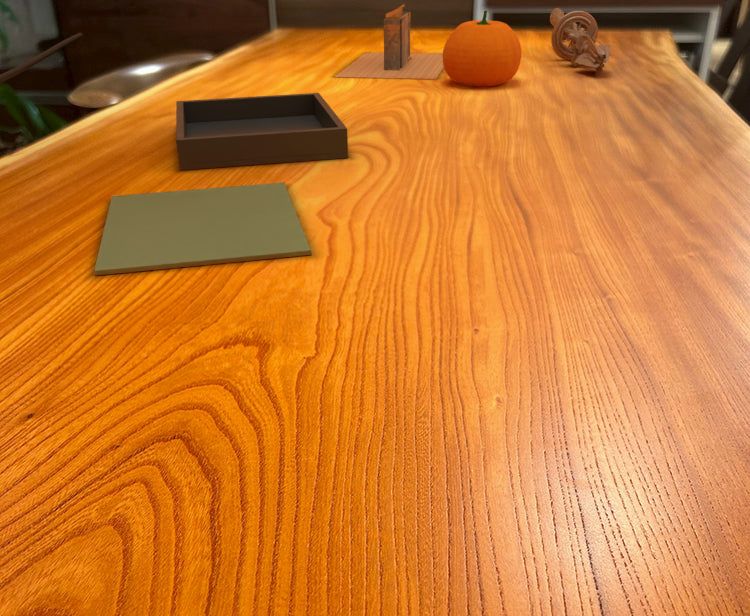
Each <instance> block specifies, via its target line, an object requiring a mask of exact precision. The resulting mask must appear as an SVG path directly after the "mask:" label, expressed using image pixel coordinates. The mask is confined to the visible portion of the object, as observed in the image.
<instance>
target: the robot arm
mask: <svg viewBox="0 0 750 616" xmlns="http://www.w3.org/2000/svg"><path fill="white" fill-rule="evenodd" d="M83 37H84V34H83V33H82V32H78V33H76V34H74V35H71V36H70V37H67V38H66V39H63V40H62V41H60V42H58V43H56V44H55V45H53V46H51V47H50V48H48V49H46V50H45V51H43V52H41V53H40V54H38V55H36V56H34V57H33V58H31V59H29V60H28V61H25V62H24V63H22V64H20V65H17V66H16V67H14V68H12V69H9V70H8V71H5V72H3V73H0V84H1V83H3V82H5V81H8V80H9V79H11V78H13V77H16V76H17V75H19V74H22V73H23V72H25V71H27V70H29V69H30V68H32V67H34V66H35V65H36V66H37V64H39V63H41V62H42V61H44V60H45V59H47V58H48V57H51V56H52V55H54V54H55V53H57V52H59V51H60V50H62V49H63V48H65V47H67V46H68V45H70V44H72V43H74V42H76V41H79V40H80V39H82V38H83Z"/></svg>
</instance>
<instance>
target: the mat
mask: <svg viewBox="0 0 750 616" xmlns="http://www.w3.org/2000/svg"><path fill="white" fill-rule="evenodd" d="M108 206H109V207H108V211H107V215H106V220H105V224H104V226H103V227H104V228H103V232H102V235H101V241H100V245H99V249H98V253H97V257H96V262H95V266H94V270H93V272H94V276H106V275H115V274H125V273H127V274H128V273H136V272H137V273H138V272H146V271H157V270H167V269H178V268H189V267H200V266H209V265H220V264H229V263H230V264H231V263H240V262H249V261H250V262H251V261H252V262H253V261H260V260H270V259H271V260H273V259H281V258H290V257H292V258H293V257H303V256H311V255H312V253H313V252H312V249H311V246H310V243H309V241H308V238H307V236H306V233H305V231H304V229H303V226H302V224H301V220H300V219H299V215H298V213H297V211H296V208H295V206H294V203H293V201H292V198H291V195H290V194H289V191H288V188H287V186H286V184H285V182H272V183H258V184H245V185H233V186H221V187H219V186H218V187H209V188H208V187H207V188H197V189H195V188H194V189H181V190H170V191H169V190H168V191H158V192H146V193H145V192H144V193H133V194H120V195H111V198H110V202H109V205H108Z"/></svg>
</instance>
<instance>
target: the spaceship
mask: <svg viewBox="0 0 750 616" xmlns="http://www.w3.org/2000/svg"><path fill="white" fill-rule="evenodd" d="M549 22H550V24H551V25H552V27H553V29H552V31H551V32H552V33H551V37H550V39H551V47H552V49H553V51H554V53H555V54H556V55H557V56H558V57H559V58H561V59H563V60H567V61H570V64H571V65H572V66H573V67H574V68H577V66H578V64H579V65H582V66H586V67H591V68H592V69H593V70H594V71H595V73H596V72H597V73H598V72H599V73H601V72H602V71H604V67H605V64H606V63H607V62H608V61H609V60H610V56H611V44H603V43H601V42H600V41H599V40H598V36H599V27H598V23H597V20H596V19H595V18H594V17H593V16H592V14H590V13H589V12H587V11H583V10H574V11H570V12H568V13H566V14H565V12H564V11H563V10H562V8H560V7H555V8H554V9H552V11H551V13H550V15H549ZM578 23H579V24H578ZM582 25H583V26H584V27H585V28H583V27H581V26H582ZM568 42H569V43H568ZM565 43H568V45H567V44H565ZM596 43H598V44H599V45H597V44H596ZM604 63H605V64H604Z"/></svg>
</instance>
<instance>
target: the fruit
mask: <svg viewBox="0 0 750 616" xmlns="http://www.w3.org/2000/svg"><path fill="white" fill-rule="evenodd" d="M487 15H488V10H483V15H482V20H481V19H480V20H469V21H468V20H467V21H465V22H462V23H460V24H459V25H458V26H457V27H456V28H454V30H453V31H452V32H451V33H450V35H449V36H448V38H447V39H446V42H445V43H444V46H443V50H442V54H443V66H444V68H443V70H444V71H445V73H446V75H447V76H448V77H449V79H451V80H452V81H453V82H455V83H457V84H459V85H462V86H468V87H494V86H495V87H496V86H499V85H502V84H505V83H507V82H509V81H510V80H512V79H513V78H514V77H515V76H516V74H517V73H518V71H519V69H520V65H521V60H522V47H521V42H520V39H519V38H518V36H517V34H516V33H515V31H514V30H513V29H512V27H511V26H510V25H508V23H506V22H503V21H499V20H488V19H487Z"/></svg>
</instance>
